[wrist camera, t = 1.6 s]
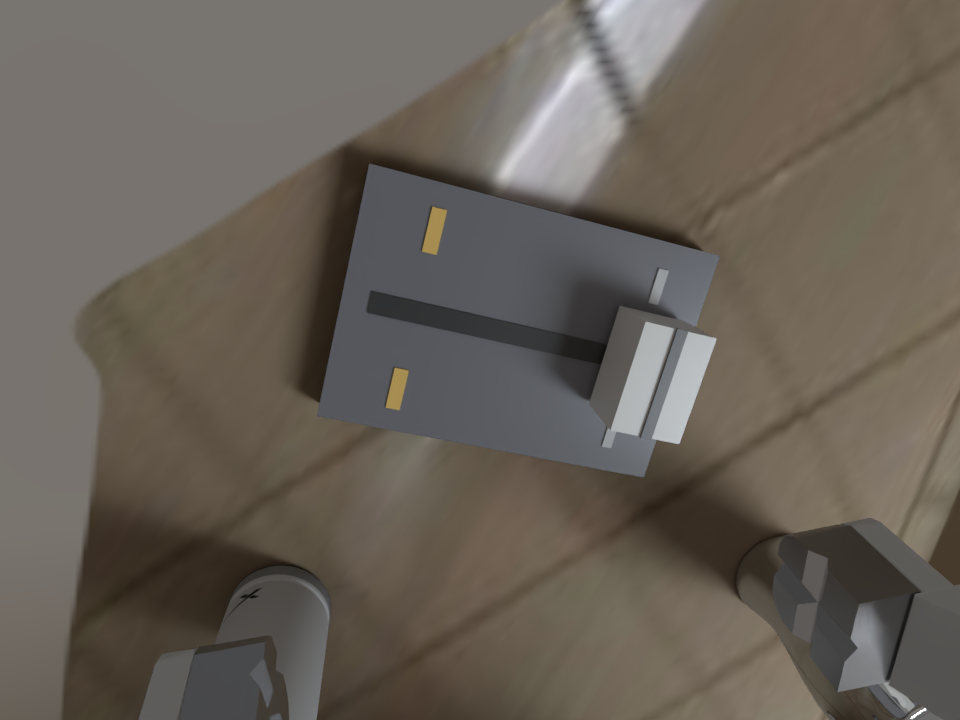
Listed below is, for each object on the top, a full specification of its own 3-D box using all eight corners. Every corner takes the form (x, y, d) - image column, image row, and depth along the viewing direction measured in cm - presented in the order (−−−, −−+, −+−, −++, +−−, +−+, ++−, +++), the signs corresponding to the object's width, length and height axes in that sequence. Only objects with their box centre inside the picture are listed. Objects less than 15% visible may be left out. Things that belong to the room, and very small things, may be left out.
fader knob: (684, 320, 38) (718, 338, 34) (651, 418, 40) (680, 446, 36) (620, 304, 38) (647, 321, 34) (588, 405, 39) (611, 432, 35)
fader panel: (704, 251, 40) (720, 256, 38) (632, 463, 43) (644, 478, 41) (370, 163, 36) (369, 163, 34) (320, 403, 39) (316, 416, 37)
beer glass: (711, 599, 47) (851, 789, 33) (760, 515, 46) (929, 676, 31) (790, 626, 49) (956, 819, 34) (840, 546, 47) (1035, 713, 33)
